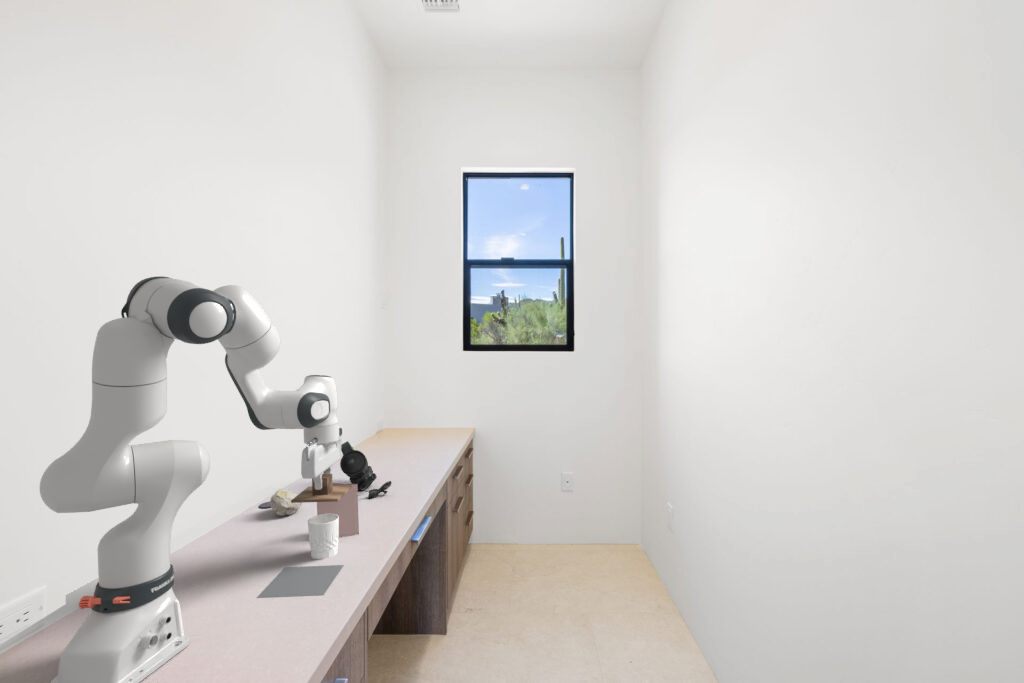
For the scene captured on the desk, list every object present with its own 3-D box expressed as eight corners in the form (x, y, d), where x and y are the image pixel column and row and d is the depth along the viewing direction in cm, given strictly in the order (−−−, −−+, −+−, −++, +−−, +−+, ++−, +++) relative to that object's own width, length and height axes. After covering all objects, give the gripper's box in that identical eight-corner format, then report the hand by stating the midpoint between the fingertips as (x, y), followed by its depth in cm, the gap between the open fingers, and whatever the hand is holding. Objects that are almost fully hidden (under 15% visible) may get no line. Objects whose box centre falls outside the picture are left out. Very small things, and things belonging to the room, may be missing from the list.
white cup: (329, 562, 132) (328, 524, 132) (302, 561, 133) (301, 523, 133) (345, 550, 139) (344, 514, 139) (319, 548, 141) (318, 512, 141)
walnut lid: (337, 501, 130) (337, 481, 130) (291, 502, 130) (290, 483, 130) (351, 487, 142) (351, 469, 142) (308, 488, 142) (308, 470, 142)
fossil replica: (296, 506, 179) (266, 515, 172) (293, 483, 179) (263, 491, 172) (308, 511, 169) (277, 522, 163) (305, 487, 169) (273, 496, 163)
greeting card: (360, 533, 151) (359, 483, 151) (346, 543, 144) (344, 490, 144) (327, 530, 154) (326, 481, 154) (311, 539, 147) (310, 488, 147)
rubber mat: (323, 597, 114) (323, 595, 114) (256, 599, 114) (256, 597, 114) (344, 566, 129) (343, 564, 129) (284, 569, 129) (284, 567, 129)
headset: (367, 518, 188) (345, 468, 208) (400, 498, 192) (376, 451, 213) (349, 490, 176) (328, 440, 197) (384, 470, 181) (360, 423, 202)
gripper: (319, 442, 125) (320, 497, 126) (344, 427, 146) (346, 475, 146) (293, 443, 125) (295, 498, 126) (322, 428, 146) (324, 475, 146)
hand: (322, 485), depth 136 cm, fingers closed on walnut lid, 4 cm apart
